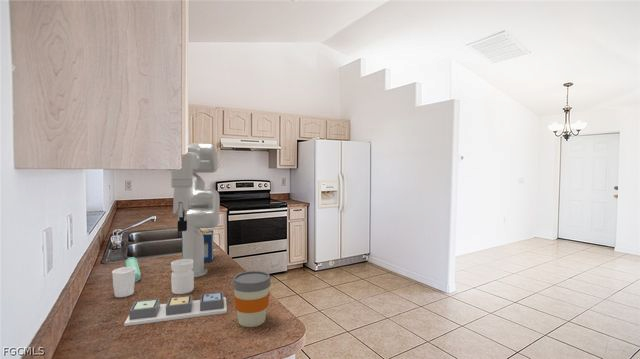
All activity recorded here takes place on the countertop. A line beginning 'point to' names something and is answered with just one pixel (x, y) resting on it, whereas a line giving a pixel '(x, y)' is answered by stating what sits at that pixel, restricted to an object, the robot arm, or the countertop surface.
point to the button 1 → (145, 304)
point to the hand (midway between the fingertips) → (182, 230)
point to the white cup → (123, 281)
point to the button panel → (176, 310)
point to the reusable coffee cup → (251, 297)
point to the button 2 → (179, 301)
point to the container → (134, 263)
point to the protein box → (206, 245)
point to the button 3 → (212, 297)
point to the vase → (182, 276)
